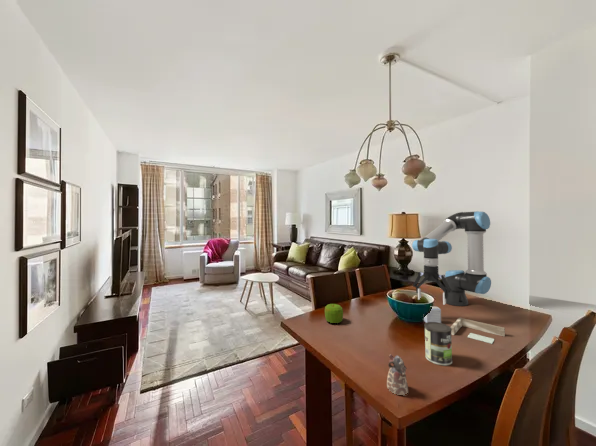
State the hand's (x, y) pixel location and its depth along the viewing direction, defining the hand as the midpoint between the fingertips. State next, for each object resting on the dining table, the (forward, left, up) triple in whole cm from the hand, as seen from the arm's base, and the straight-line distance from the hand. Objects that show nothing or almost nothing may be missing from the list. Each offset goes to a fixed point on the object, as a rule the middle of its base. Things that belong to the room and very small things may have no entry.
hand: (431, 301), depth 145 cm
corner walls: (+1, +22, -12) cm, 25 cm away
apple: (+38, -43, -13) cm, 58 cm away
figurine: (+70, +11, -13) cm, 72 cm away
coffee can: (+39, +15, -13) cm, 43 cm away
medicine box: (0, 0, -13) cm, 13 cm away
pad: (+5, +24, -12) cm, 27 cm away
